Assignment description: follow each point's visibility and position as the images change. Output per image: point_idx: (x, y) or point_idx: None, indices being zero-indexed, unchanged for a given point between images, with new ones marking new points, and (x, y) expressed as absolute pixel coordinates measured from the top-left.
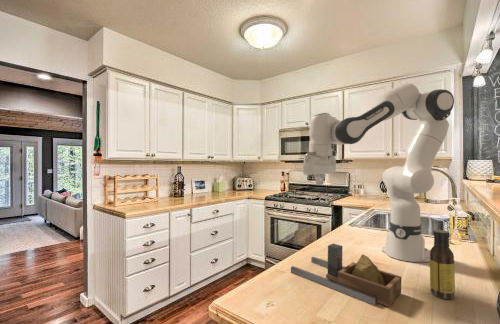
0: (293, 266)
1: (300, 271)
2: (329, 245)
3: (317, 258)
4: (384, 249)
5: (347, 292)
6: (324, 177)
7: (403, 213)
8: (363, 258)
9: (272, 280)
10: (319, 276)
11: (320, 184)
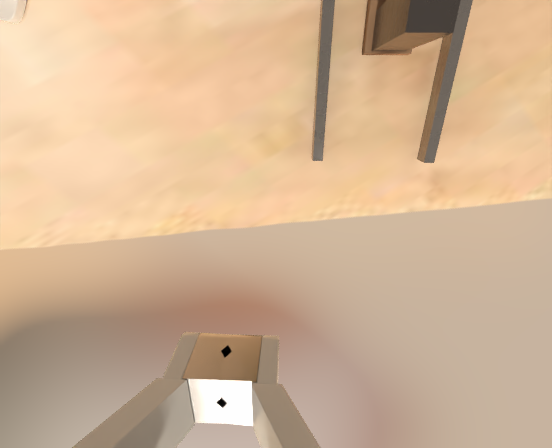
0: (426, 159)
1: (440, 126)
2: (444, 29)
3: (317, 141)
4: (14, 1)
5: None
6: (105, 431)
7: None
8: None
9: (503, 164)
10: (452, 54)
11: (257, 337)
